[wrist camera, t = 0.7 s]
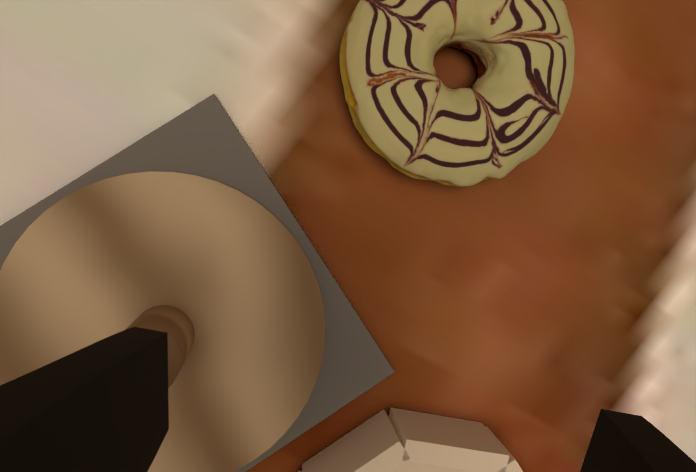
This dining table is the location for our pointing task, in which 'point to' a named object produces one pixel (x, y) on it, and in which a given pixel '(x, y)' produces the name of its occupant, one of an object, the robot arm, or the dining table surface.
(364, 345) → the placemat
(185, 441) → the lid
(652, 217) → the dining table surface
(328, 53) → the dining table surface
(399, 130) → the decorated donut
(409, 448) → the bowl
